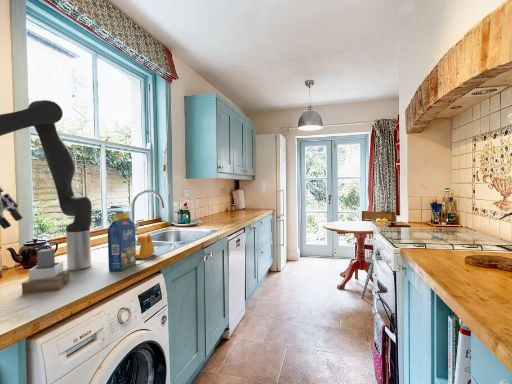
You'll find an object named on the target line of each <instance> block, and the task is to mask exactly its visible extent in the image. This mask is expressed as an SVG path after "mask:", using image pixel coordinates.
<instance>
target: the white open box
mask: <svg viewBox="0 0 512 384" xmlns="http://www.w3.org/2000/svg"><path fill="white" fill-rule="evenodd" d="M63 271H64V261H60V262H57V261H56V262H55V267H52V268H41V269H38V264H37V265H35V266H33V267H32V268H30V269H29V270H28V279H29V281H36V280H46V279H55V278H57V277H58V276H59V275H60V274H61V273H63Z"/></svg>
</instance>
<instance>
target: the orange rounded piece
mask: <svg viewBox="0 0 512 384" xmlns="http://www.w3.org/2000/svg"><path fill="white" fill-rule="evenodd" d="M136 241H137V244H138V246H139V245H140V246H139V250H138V251H137V250H136V259H148V258H150V257H152V255H153V254H155V248H154V244H153V239H152V236H151V234H139V235H138V237H137V240H136Z"/></svg>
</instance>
